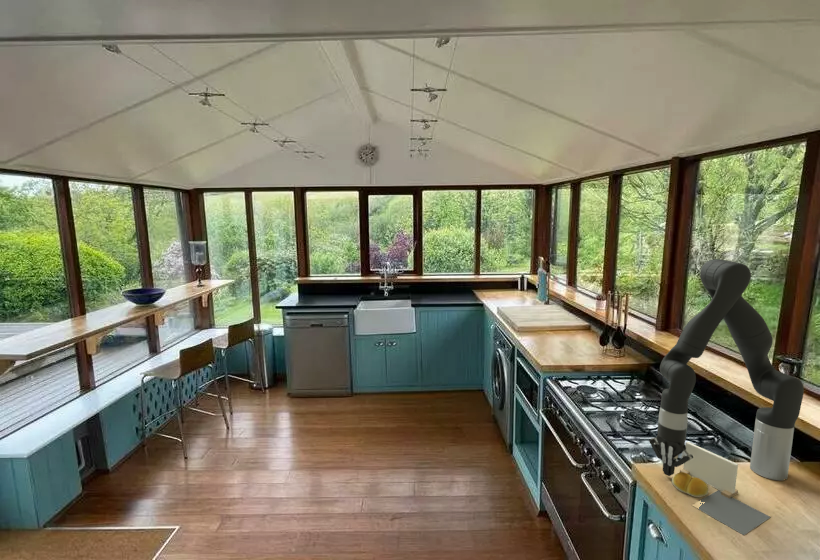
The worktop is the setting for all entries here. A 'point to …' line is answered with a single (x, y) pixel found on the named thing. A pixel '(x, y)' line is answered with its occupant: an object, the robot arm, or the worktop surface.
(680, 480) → the bread roll
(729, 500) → the mat
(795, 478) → the worktop surface
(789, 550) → the worktop surface
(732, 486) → the screen
